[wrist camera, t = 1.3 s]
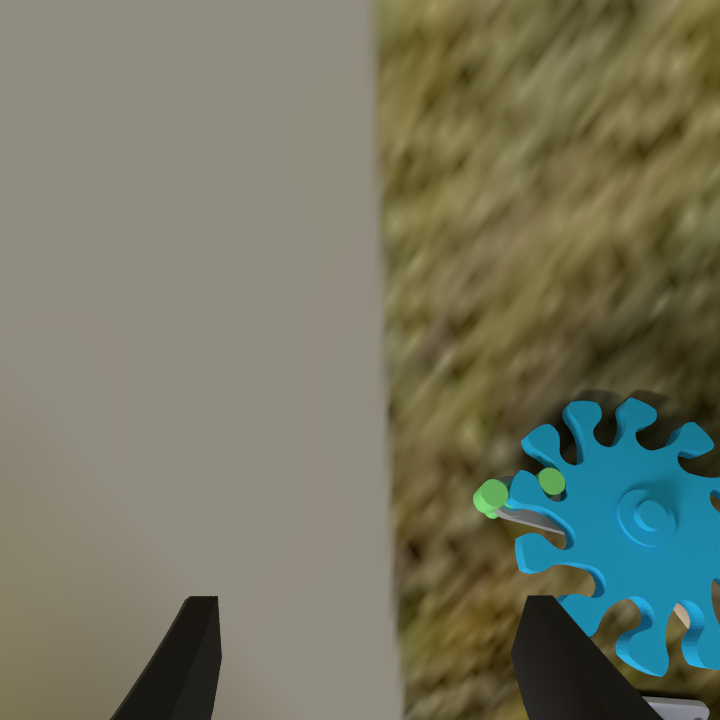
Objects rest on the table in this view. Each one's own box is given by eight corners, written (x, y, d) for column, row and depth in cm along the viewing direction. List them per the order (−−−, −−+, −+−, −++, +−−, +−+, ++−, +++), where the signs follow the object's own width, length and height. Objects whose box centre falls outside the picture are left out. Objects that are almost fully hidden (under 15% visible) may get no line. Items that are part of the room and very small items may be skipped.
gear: (776, 423, 19) (831, 724, 14) (684, 465, 24) (701, 696, 19) (501, 359, 20) (468, 618, 15) (470, 413, 25) (437, 619, 21)
